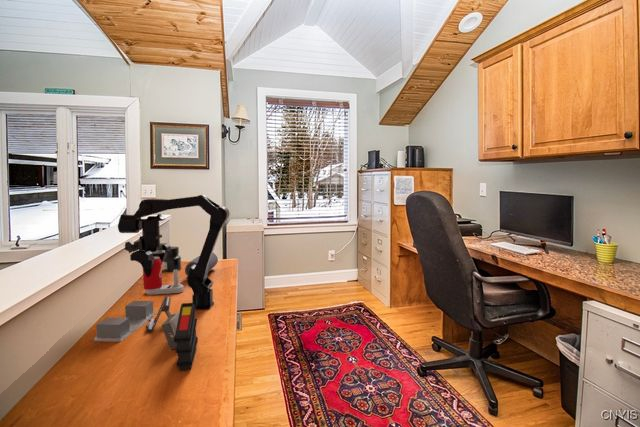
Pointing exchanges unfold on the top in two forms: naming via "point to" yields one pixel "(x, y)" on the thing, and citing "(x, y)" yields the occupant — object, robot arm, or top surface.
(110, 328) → the mounted modules
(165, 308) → the portable electronic device stand
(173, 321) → the electrical switch
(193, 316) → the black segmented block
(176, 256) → the ink bottle
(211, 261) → the bluetooth speaker
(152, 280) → the beverage can
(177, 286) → the electronic device
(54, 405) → the top surface
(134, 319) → the rail
